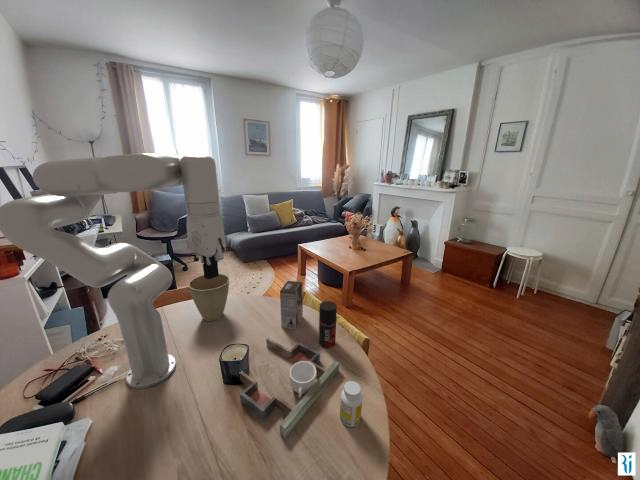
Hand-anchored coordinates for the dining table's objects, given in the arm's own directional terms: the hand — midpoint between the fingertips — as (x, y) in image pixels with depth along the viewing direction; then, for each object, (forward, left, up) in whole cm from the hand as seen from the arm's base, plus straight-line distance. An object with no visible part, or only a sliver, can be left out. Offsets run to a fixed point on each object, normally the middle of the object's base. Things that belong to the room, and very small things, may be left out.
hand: (211, 276), depth 68 cm
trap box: (+15, +9, -32) cm, 37 cm away
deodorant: (+18, +30, -32) cm, 48 cm away
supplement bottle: (+38, +10, -32) cm, 51 cm away
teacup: (+23, +9, -32) cm, 41 cm away
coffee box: (0, +32, -32) cm, 45 cm away
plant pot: (-29, +16, -32) cm, 46 cm away
